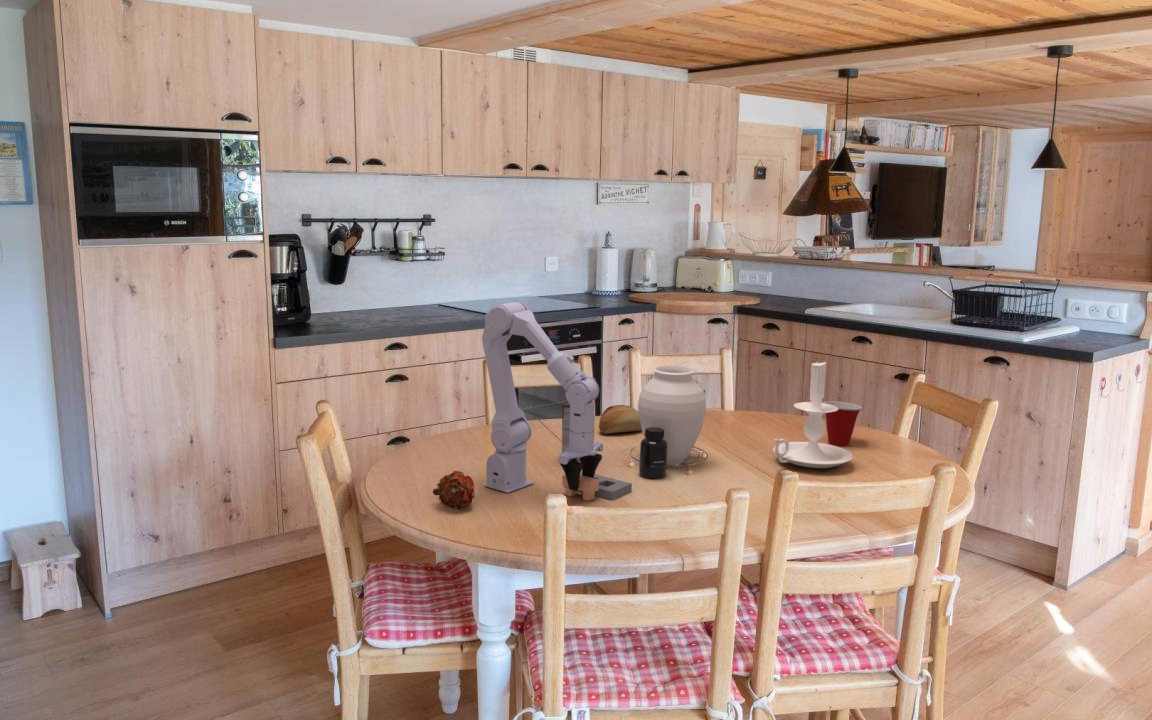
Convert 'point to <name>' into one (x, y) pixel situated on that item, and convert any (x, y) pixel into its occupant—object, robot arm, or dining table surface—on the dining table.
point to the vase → (673, 409)
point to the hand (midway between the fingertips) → (580, 486)
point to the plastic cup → (841, 422)
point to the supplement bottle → (653, 454)
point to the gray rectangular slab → (611, 487)
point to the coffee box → (566, 426)
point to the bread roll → (619, 419)
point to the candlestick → (813, 430)
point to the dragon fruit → (455, 490)
